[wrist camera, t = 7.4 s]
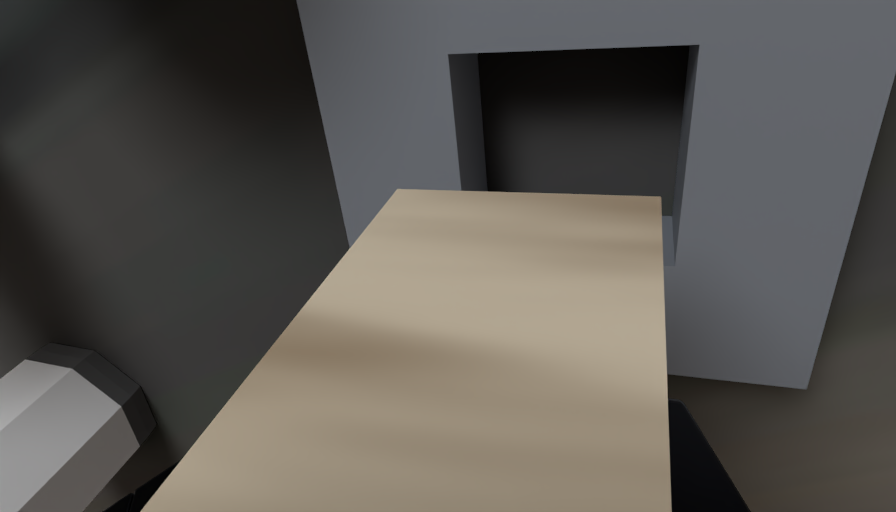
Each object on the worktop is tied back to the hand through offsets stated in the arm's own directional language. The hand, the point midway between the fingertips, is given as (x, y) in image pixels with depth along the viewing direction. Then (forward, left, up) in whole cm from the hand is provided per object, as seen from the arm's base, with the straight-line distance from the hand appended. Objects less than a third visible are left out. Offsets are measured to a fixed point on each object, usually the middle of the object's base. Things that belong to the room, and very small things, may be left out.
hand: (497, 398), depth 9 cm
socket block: (0, 0, -12) cm, 12 cm away
